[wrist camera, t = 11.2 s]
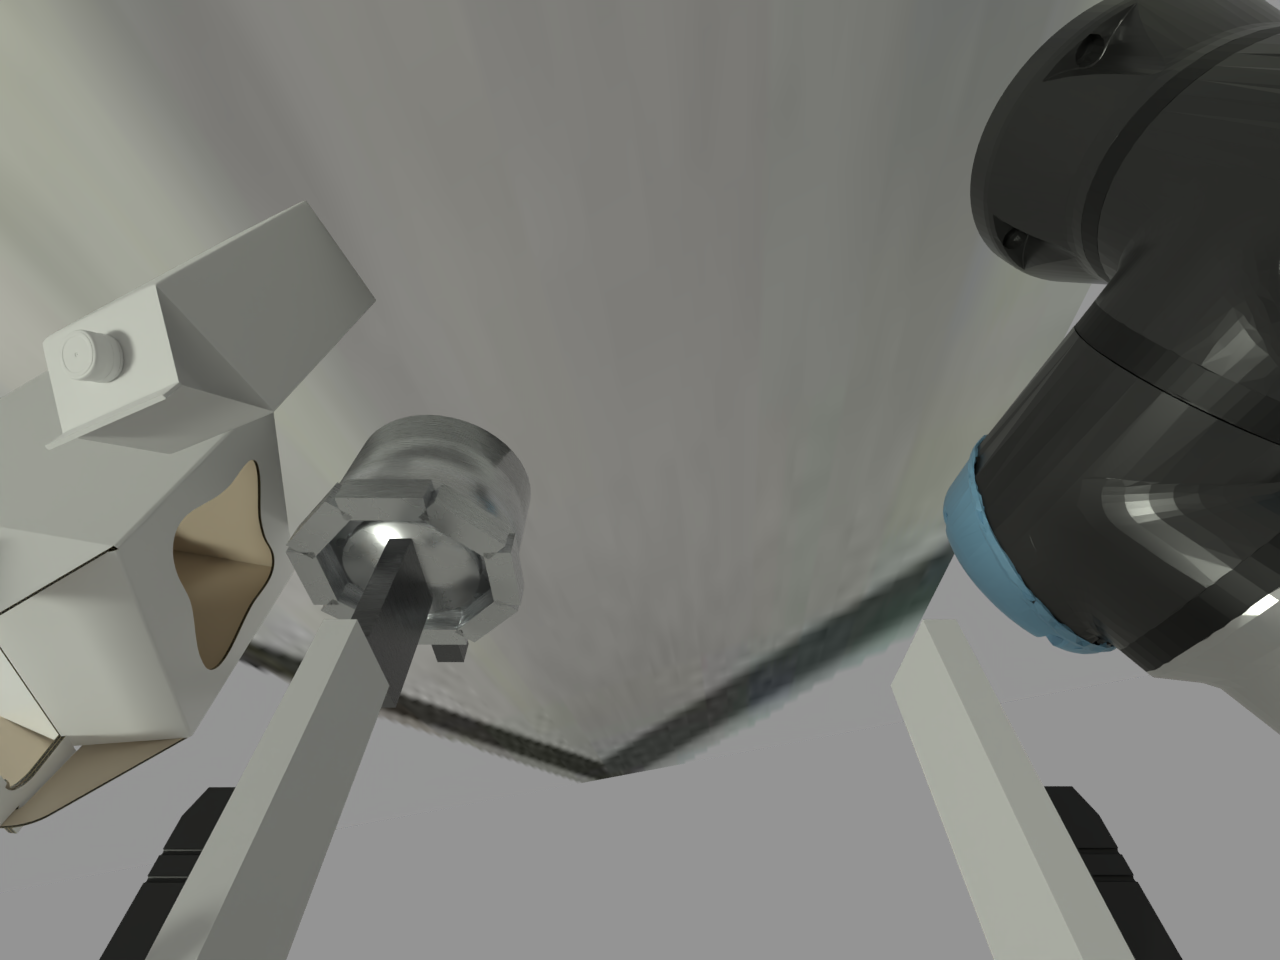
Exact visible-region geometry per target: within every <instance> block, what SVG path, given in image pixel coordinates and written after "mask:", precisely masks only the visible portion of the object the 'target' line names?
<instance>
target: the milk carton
mask: <svg viewBox="0 0 1280 960" xmlns="http://www.w3.org/2000/svg"><path fill="white" fill-rule="evenodd" d="M375 301H376V299H375V298H374V296H373V295H372V293H371V292H370V290H369V289H368V288H367V286H366V285H365V283H364V282H363V280H362V279H361V278H360V276H359V275H358V273H357V272H356V270H355V269H354V268H353V266H352V265H351V263H350V262H349V261H348V259H347V258H346V256H345V255H344V253H343V252H342V251H341V249H340V248H339V246H338V245H337V243H336V242H335V241H334V239H333V238H332V236H331V235H330V234H329V232H328V231H327V229H326V228H325V226H324V225H323V224H322V222H321V221H320V219H319V218H318V217H317V215H316V214H315V212H314V211H313V209H312V208H311V207H310V205H309V204H308V202H307V201H302V202H300V203H298V204H296V205H294V206H292V207H290V208H288V209H286V210H284V211H282V212H280V213H278V214H276V215H274V216H272V217H270V218H268V219H266V220H264V221H262V222H260V223H258V224H256V225H254V226H252V227H250V228H248V229H246V230H244V231H242V232H240V233H238V234H236V235H235V236H233V237H231V238H229V239H227V240H225V241H223V242H221V243H219V244H217V245H216V246H214V247H212V248H210V249H208V250H206V251H204V252H203V253H201V254H199V255H197V256H195V257H193V258H192V259H190V260H188V261H186V262H184V263H182V264H180V265H179V266H177V267H175V268H173V269H171V270H169V271H167V272H166V273H164V274H162V275H160V276H158V277H156V278H155V279H153V280H151V281H149V282H147V283H145V284H143V285H142V286H140V287H138V288H136V289H134V290H132V291H130V292H129V293H127V294H125V295H123V296H121V297H119V298H118V299H116V300H114V301H112V302H110V303H108V304H106V305H105V306H103V307H101V308H99V309H97V310H95V311H93V312H92V313H90V314H88V315H86V316H84V317H82V318H81V319H79V320H77V321H75V322H73V323H71V324H69V325H68V326H66V327H64V328H62V329H60V330H59V331H57V332H55V333H53V334H52V335H50V336H49V337H47V338H46V339H45V340H44V342H43V349H44V353H45V358H46V362H47V366H48V371H49V375H50V380H51V384H52V388H53V393H54V397H55V402H56V406H57V411H58V415H59V419H60V424H61V428H62V433H63V434H62V435H60V436H59V437H57V438H56V439H55V440H53V441H52V442H51V443H49V444H48V445H46V446H45V447H46V448H47V449H48V450H50V449H53V448H55V447H57V446H59V445H62V444H64V443H66V442H69V441H71V440H73V439H75V438H79V439H85V440H90V441H96V442H102V443H108V444H113V445H119V446H125V447H131V448H137V449H142V450H148V451H154V452H160V453H165V454H172V453H175V452H178V451H180V450H183V449H185V448H188V447H190V446H193V445H195V444H198V443H200V442H203V441H205V440H208V439H210V438H213V437H215V436H217V435H220V434H222V433H225V432H227V431H230V430H232V429H235V428H237V427H240V426H242V425H244V424H247V423H249V422H252V421H254V420H257V419H259V418H262V417H264V416H266V415H269V414H271V413H273V412H274V411H275V410H276V409H277V408H278V407H279V406H280V405H281V403H282V402H283V401H284V400H285V399H286V398H287V397H288V396H289V395H290V394H291V393H292V392H293V390H294V389H295V388H296V387H297V386H298V385H299V384H300V383H301V382H302V381H303V380H304V379H305V377H306V376H307V375H308V374H309V373H310V372H311V371H312V370H313V369H314V368H315V367H316V365H317V364H318V363H319V362H320V361H321V360H322V359H323V358H324V357H325V356H326V355H327V354H328V352H329V351H330V350H331V349H332V348H333V347H334V346H335V345H336V344H337V343H338V342H339V341H340V339H341V338H342V337H343V336H344V335H345V334H346V333H347V332H348V331H349V330H350V329H351V327H352V326H353V325H354V324H355V323H356V322H357V321H358V320H359V319H360V318H361V317H362V316H363V314H364V313H365V312H366V311H367V310H368V309H369V308H370V307H371V306H372V305H373V304H374V303H375Z"/></svg>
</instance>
